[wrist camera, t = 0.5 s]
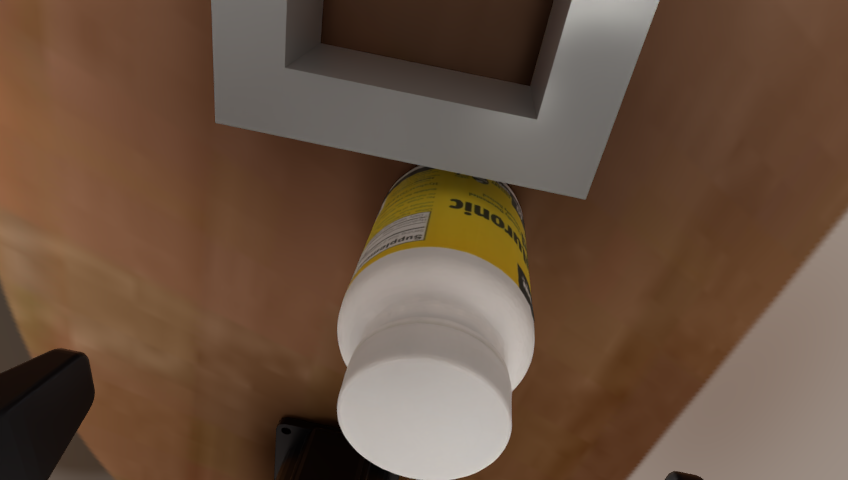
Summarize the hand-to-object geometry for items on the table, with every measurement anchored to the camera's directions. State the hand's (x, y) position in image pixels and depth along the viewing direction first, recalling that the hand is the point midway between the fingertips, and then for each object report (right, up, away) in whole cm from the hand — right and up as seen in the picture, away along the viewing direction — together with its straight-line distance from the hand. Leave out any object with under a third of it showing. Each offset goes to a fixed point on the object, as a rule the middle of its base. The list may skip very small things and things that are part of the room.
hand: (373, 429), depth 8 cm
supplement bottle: (+2, +4, +12) cm, 13 cm away
